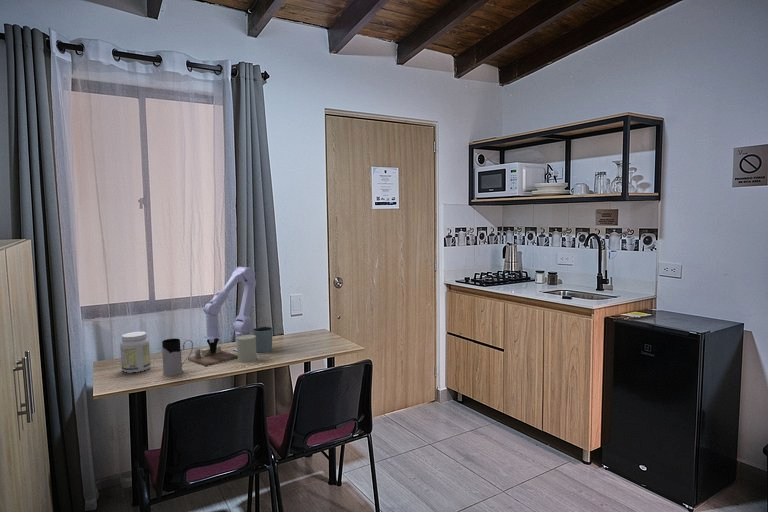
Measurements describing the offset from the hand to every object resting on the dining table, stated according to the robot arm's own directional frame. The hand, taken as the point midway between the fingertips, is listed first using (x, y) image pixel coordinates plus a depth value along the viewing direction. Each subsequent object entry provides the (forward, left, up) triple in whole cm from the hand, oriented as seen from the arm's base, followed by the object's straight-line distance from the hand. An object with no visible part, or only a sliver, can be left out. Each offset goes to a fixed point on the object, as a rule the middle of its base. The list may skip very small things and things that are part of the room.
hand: (213, 353), depth 248 cm
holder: (+22, +8, -2) cm, 24 cm away
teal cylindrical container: (-22, +12, -2) cm, 25 cm away
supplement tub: (+33, -11, -2) cm, 35 cm away
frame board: (+2, +3, -2) cm, 4 cm away
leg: (0, -2, -1) cm, 2 cm away
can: (-8, +18, -2) cm, 19 cm away
